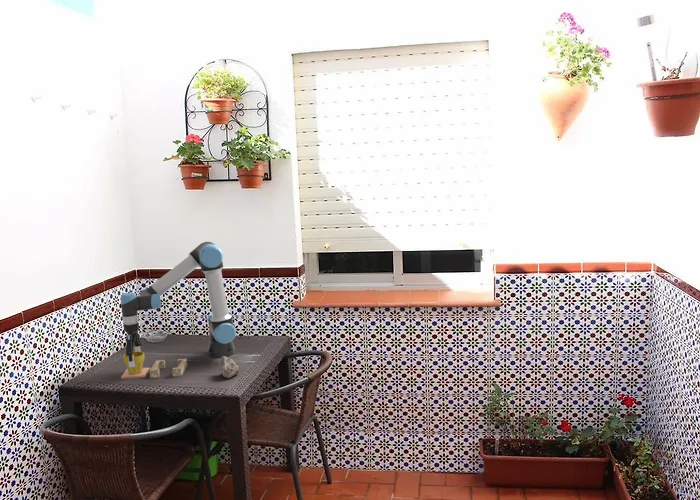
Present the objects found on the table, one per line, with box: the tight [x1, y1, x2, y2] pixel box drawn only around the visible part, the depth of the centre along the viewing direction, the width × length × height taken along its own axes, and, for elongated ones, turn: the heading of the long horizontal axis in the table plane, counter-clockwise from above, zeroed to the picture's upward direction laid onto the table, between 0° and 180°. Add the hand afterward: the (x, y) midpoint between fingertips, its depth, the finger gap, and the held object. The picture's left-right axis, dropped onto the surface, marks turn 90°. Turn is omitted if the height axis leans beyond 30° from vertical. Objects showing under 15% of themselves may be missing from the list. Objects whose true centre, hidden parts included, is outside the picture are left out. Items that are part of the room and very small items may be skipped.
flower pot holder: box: [148, 358, 188, 379], centre depth 343 cm, size 16×16×4 cm
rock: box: [218, 356, 240, 379], centre depth 332 cm, size 9×12×10 cm
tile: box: [120, 367, 151, 379], centre depth 342 cm, size 12×12×1 cm
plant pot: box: [122, 350, 146, 374], centre depth 341 cm, size 10×10×10 cm
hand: (135, 362), depth 342 cm, fingers open, 13 cm apart
